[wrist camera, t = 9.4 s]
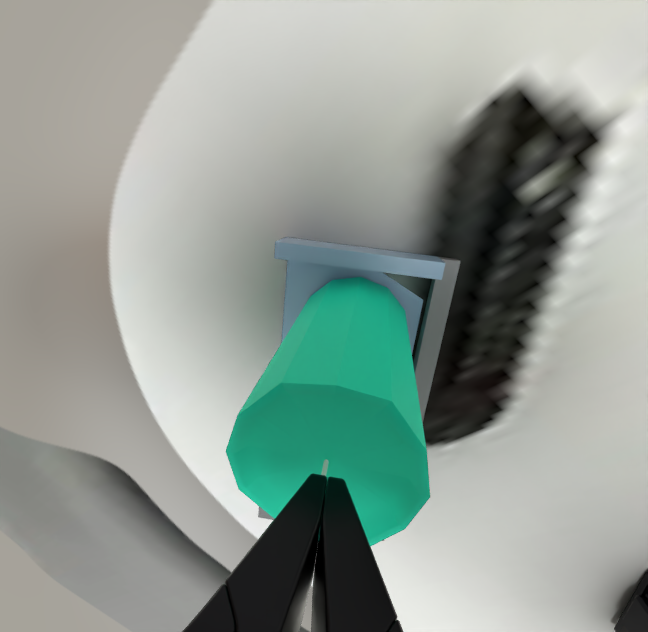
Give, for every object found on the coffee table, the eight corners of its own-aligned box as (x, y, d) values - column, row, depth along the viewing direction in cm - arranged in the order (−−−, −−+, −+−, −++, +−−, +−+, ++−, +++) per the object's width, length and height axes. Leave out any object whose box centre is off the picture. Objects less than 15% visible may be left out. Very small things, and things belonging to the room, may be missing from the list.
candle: (422, 357, 20) (472, 588, 9) (326, 385, 21) (265, 609, 10) (385, 259, 18) (386, 392, 7) (283, 298, 20) (156, 455, 9)
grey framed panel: (454, 257, 18) (467, 265, 16) (396, 510, 24) (399, 543, 22) (286, 236, 19) (275, 241, 17) (268, 486, 25) (258, 517, 22)
